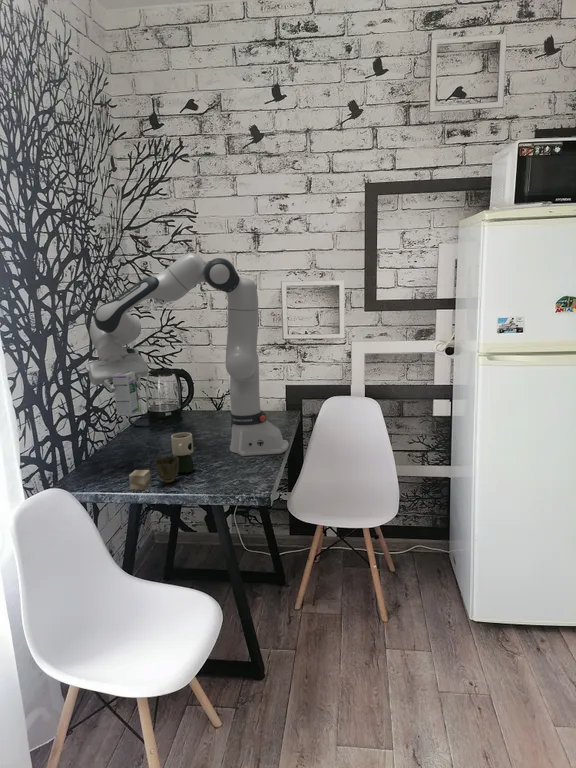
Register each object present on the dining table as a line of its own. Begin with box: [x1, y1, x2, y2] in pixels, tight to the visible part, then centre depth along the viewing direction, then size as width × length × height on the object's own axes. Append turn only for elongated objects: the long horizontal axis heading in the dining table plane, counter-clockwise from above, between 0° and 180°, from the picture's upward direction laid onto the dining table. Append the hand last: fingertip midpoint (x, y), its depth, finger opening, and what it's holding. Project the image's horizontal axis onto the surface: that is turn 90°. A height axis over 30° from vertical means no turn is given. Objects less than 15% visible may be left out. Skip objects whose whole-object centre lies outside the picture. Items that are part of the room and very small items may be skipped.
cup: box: [154, 454, 179, 484], centre depth 181 cm, size 8×7×8 cm
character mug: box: [170, 431, 195, 474], centre depth 190 cm, size 11×7×13 cm, turn 3°
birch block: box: [128, 469, 152, 490], centre depth 178 cm, size 5×5×5 cm
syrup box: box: [112, 371, 140, 417], centre depth 192 cm, size 6×6×14 cm
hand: (126, 388), depth 192 cm, fingers closed on syrup box, 8 cm apart
